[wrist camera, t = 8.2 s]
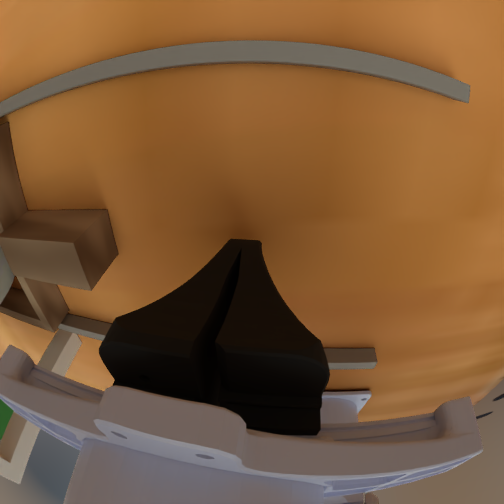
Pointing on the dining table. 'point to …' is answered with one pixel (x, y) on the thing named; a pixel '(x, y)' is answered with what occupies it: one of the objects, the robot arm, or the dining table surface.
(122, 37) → the dining table surface
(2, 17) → the dining table surface
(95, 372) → the dining table surface
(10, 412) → the hardback book
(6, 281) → the teacup
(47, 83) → the shelf
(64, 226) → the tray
